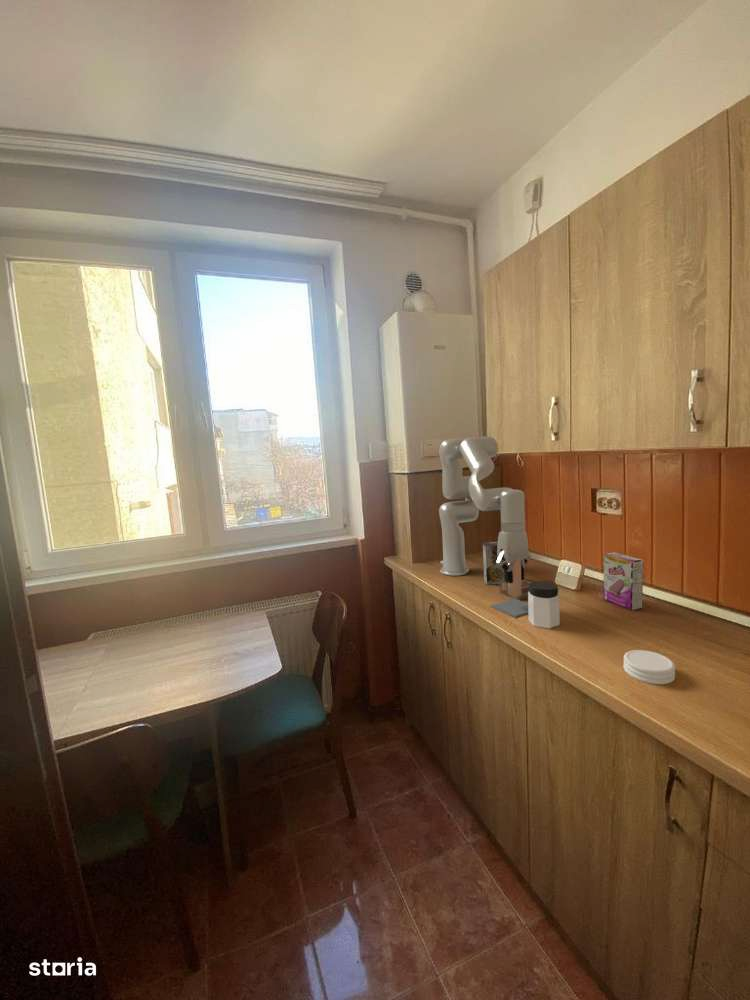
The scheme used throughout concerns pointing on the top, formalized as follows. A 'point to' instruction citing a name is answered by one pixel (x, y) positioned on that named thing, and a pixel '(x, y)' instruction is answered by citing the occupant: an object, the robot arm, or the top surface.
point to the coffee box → (491, 564)
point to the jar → (543, 604)
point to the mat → (512, 607)
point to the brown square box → (524, 589)
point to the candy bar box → (623, 580)
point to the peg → (515, 579)
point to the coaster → (649, 667)
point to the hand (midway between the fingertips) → (514, 580)
